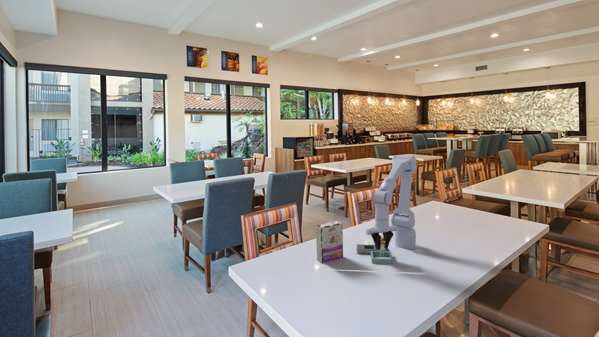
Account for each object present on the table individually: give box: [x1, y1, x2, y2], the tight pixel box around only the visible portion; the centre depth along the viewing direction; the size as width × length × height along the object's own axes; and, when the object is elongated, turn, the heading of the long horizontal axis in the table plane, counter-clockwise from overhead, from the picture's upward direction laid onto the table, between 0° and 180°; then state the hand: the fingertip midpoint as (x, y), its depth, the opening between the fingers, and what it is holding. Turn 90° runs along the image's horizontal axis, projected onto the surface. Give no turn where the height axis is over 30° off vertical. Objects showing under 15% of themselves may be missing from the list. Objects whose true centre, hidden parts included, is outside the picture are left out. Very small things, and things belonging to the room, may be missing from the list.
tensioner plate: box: [356, 243, 391, 255], centre depth 149 cm, size 15×7×3 cm, turn 81°
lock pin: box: [377, 237, 386, 257], centre depth 140 cm, size 4×4×7 cm
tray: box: [370, 251, 395, 265], centre depth 140 cm, size 9×9×2 cm
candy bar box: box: [315, 220, 344, 264], centre depth 142 cm, size 11×5×16 cm, turn 117°
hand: (381, 248), depth 140 cm, fingers closed on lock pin, 3 cm apart
